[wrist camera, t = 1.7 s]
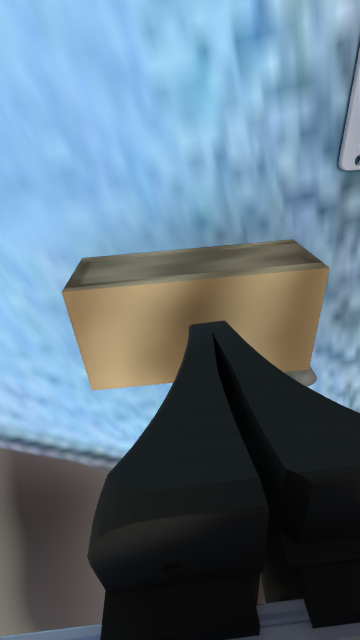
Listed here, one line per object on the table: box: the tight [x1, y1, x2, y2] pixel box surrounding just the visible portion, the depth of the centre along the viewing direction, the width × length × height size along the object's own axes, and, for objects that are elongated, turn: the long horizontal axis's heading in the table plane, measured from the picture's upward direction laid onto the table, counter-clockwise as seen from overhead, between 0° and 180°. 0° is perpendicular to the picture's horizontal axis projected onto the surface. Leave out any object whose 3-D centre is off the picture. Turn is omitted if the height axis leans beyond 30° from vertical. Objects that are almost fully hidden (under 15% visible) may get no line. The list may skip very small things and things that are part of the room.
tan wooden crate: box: [62, 240, 329, 390], centre depth 20 cm, size 14×7×5 cm, turn 94°
